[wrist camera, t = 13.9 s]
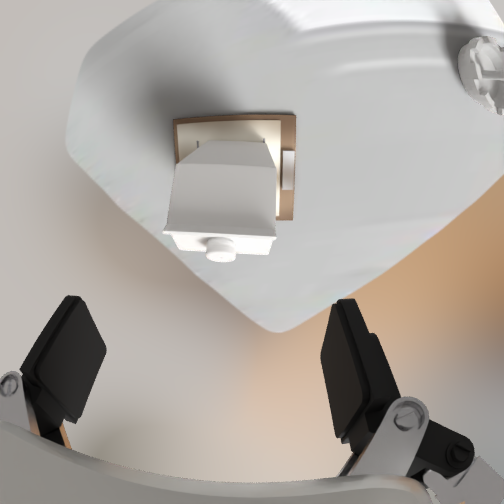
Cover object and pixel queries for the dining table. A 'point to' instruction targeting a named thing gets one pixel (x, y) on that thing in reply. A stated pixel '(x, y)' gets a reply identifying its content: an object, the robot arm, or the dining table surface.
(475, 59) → the flag stand
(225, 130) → the clipboard
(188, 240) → the milk carton
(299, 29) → the dining table surface
